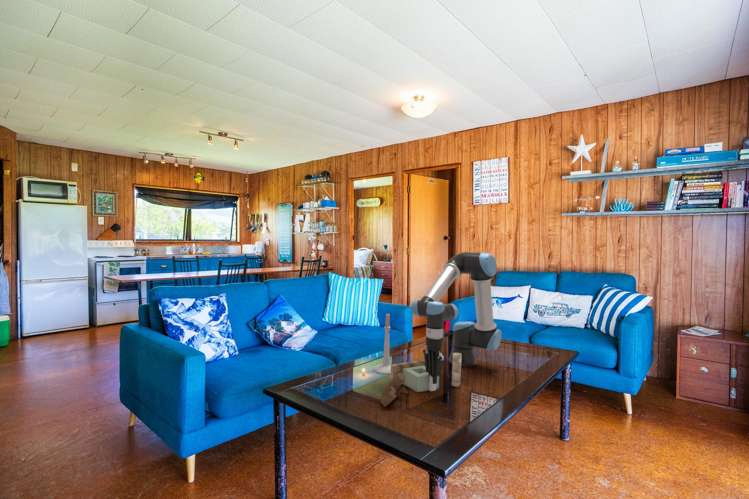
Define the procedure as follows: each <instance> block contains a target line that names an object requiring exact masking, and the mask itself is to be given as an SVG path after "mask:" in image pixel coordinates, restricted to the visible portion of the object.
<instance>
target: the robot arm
mask: <svg viewBox="0 0 749 499" xmlns="http://www.w3.org/2000/svg"><path fill="white" fill-rule="evenodd" d="M497 268H498V266H497V259H496V258H495V256H494V255H493V254H491V253H487V252H469V251H464V252H459V253H457V254H455V255H454V256H453V257H451V258H449V259H448V260H447V261H446V262H445V264H444V265H443V270H442V271H441V273H440V274H439V275H438V276H437V278H436V279H435V280H434V282H433V283H432V284H431V286H430V287H429V288H428V289H427V291H426V292H425V293H424V295H423V296H422V297H421V299H420V300H419V299H414V300H413V301H412V302H411V305H410V311H411V313H412V315H413V316H416V317H422V318H426V324H425V325H426V328H425V329H426V330H425V331H426V332H425V336H426V337H425V346H426V349H422V353H423V356H424V360H425V367H426V372H428V374H429V390H428V391H430V392H434V391H437V389H436V384H437V376H439V377H440V376H441V375H442V370H443V366H444V362H445V360H446V356H445V355H443V354H442V352H443V351H442V347H443V345H444V344H443V343H444V323H445V322H451V321H453V320H454V319H456V318H457V317H458V316H459V308H458V307H457V305H455V303H443V302H441V301H440V300H441V299H442V297H443V296H444V295H445V293H446V292H447V290H448V289H449V288H450V287H451V285H452V284H453V282H454V281H455V279H458V278H459V277H460V276H461V275H469V279H470V280H471V281H472V282H473V293H474V302H475V312H476V313H475V314H476V323H475V322H474V321H457V322H455V323H454V324H453V330H452V349H451V352H450V355H449V358H448V362H449V363H450V364H451V365H452V362H453V353H461V354H462V355H461V367H475V366H476V365H477V358H476V354H475V351H474V349H475V348H477V349H482V350H487V351H496V350H497V349H498V348H499V346H500V344H501V341H502V336H503V335H502V334H503V333H502V331H501V330H500V329H498V328H497V323H495V322H494V312H493V310H494V309H493V298H492V287H491V285H492V283H491V282H492V281H491V280H493V279H494V276H495V275H497V274H496V273H497ZM475 364H476V365H475ZM474 365H475V366H474Z"/></svg>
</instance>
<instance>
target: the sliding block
mask: <svg viewBox="0 0 749 499" xmlns="http://www.w3.org/2000/svg"><path fill="white" fill-rule="evenodd" d="M403 375H404V377H405V382H404V383H403V384H402V385H404V386H406V387H408V388H409V389H411V390H412V391H414V392H416V393H422V392H427V391H430V390H429V374H428V372H426V367H425V366H424V365H423V366H416V367H410V368H404V369H403ZM439 386H440V376H437V384H436V390H437V389H439V388H440V387H439Z"/></svg>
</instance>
